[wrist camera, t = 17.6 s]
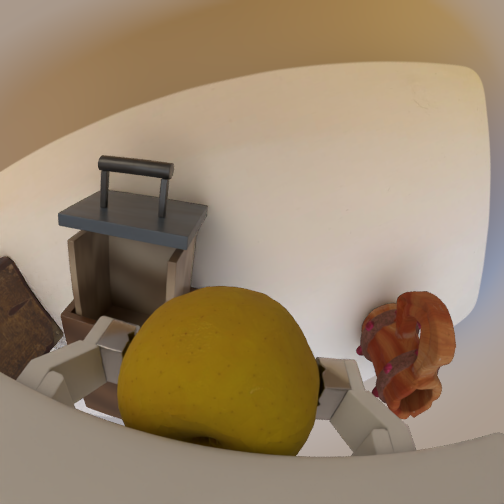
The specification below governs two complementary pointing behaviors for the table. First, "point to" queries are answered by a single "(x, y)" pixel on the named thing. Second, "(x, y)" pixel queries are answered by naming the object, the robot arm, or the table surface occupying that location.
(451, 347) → the mug
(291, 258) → the table surface
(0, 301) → the book
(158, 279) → the drawer
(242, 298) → the apple
